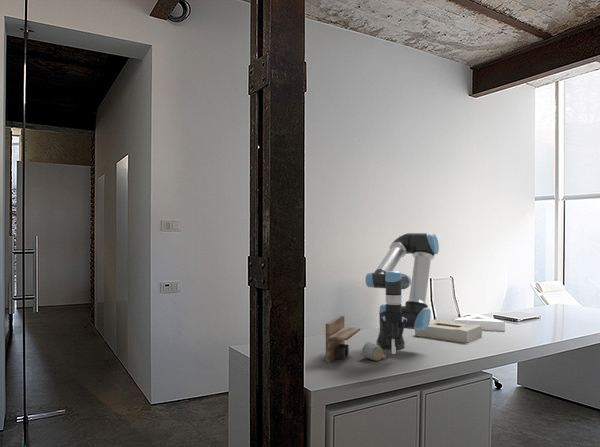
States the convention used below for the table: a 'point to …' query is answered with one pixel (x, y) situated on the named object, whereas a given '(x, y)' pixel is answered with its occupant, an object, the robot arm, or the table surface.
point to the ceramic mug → (372, 351)
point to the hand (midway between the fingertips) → (393, 353)
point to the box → (451, 331)
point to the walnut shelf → (338, 338)
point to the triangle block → (483, 322)
